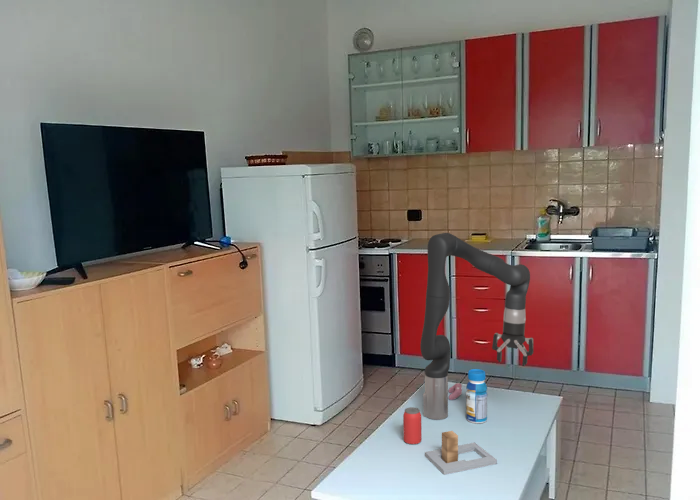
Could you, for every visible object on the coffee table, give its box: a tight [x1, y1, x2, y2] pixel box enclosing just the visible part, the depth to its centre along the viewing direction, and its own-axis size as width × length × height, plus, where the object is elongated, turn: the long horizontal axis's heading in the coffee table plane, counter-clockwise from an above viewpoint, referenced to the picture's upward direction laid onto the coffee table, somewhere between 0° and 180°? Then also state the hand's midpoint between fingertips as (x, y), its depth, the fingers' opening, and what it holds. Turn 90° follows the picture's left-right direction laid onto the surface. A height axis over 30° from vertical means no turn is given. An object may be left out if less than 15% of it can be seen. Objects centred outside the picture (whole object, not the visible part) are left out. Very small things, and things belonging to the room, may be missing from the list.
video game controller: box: [448, 382, 463, 401], centre depth 257 cm, size 10×5×7 cm, turn 171°
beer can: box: [402, 406, 422, 445], centre depth 213 cm, size 7×7×12 cm
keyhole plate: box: [424, 442, 498, 476], centre depth 199 cm, size 20×14×2 cm
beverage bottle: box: [465, 368, 489, 425], centre depth 230 cm, size 8×8×20 cm
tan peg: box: [441, 430, 459, 463], centre depth 197 cm, size 4×4×10 cm
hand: (511, 363), depth 210 cm, fingers open, 8 cm apart
